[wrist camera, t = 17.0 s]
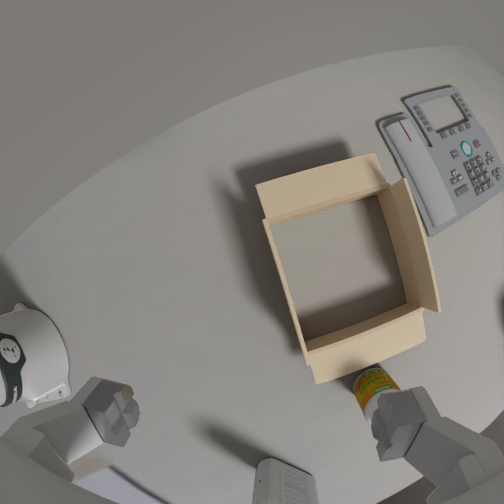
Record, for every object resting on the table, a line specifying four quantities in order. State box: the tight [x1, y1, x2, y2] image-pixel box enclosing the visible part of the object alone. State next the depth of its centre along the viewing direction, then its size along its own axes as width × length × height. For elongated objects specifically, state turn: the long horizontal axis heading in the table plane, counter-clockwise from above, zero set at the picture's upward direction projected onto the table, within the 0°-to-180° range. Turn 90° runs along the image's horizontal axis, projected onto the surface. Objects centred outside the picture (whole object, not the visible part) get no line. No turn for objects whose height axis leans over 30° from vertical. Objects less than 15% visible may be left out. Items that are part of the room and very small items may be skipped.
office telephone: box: [378, 87, 504, 237], centre depth 32 cm, size 23×3×20 cm
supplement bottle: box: [353, 368, 400, 424], centre depth 28 cm, size 5×5×10 cm
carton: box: [255, 153, 441, 385], centre depth 30 cm, size 16×24×8 cm, turn 17°
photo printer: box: [252, 458, 319, 504], centre depth 27 cm, size 10×4×12 cm, turn 54°
